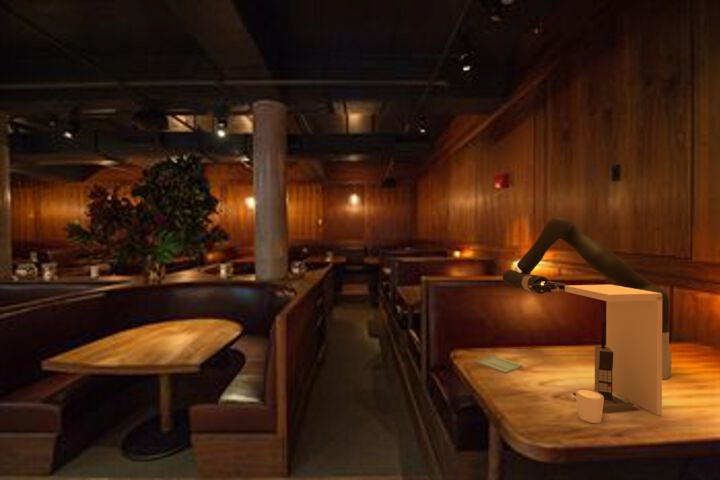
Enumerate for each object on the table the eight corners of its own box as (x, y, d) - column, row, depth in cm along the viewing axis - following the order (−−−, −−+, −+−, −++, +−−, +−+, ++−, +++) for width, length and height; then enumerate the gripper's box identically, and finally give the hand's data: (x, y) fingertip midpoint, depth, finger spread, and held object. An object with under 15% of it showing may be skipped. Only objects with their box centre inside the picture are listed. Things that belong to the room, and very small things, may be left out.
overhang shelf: (610, 387, 117) (610, 284, 117) (661, 414, 99) (662, 293, 99) (564, 390, 115) (564, 285, 115) (608, 418, 97) (608, 294, 97)
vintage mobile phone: (599, 403, 106) (599, 324, 105) (594, 396, 110) (594, 320, 110) (613, 405, 104) (613, 325, 104) (608, 398, 109) (608, 321, 109)
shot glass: (570, 412, 101) (570, 389, 101) (591, 410, 102) (591, 388, 102) (587, 424, 94) (587, 400, 94) (610, 423, 95) (610, 399, 95)
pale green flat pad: (523, 368, 136) (523, 365, 136) (505, 375, 129) (505, 371, 129) (493, 358, 147) (493, 355, 147) (476, 364, 141) (476, 360, 140)
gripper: (519, 275, 146) (543, 280, 130) (550, 274, 148) (577, 279, 132) (519, 292, 146) (543, 299, 130) (550, 291, 148) (577, 298, 132)
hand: (560, 289), depth 131 cm, fingers open, 8 cm apart
